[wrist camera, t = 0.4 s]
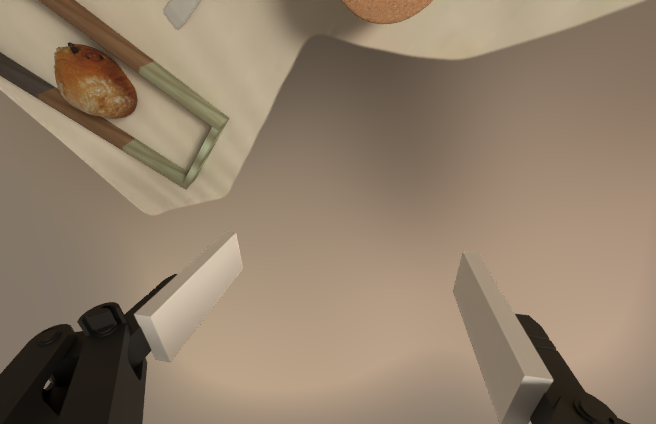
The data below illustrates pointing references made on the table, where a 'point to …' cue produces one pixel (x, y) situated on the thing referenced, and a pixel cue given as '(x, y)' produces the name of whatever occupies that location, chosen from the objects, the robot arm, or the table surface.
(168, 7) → the fork
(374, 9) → the lidded jar
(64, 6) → the multicolored rectangular frame
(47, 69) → the table surface
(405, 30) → the table surface
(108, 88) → the bread roll
